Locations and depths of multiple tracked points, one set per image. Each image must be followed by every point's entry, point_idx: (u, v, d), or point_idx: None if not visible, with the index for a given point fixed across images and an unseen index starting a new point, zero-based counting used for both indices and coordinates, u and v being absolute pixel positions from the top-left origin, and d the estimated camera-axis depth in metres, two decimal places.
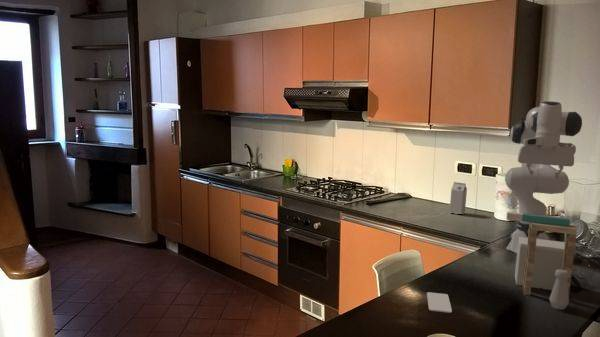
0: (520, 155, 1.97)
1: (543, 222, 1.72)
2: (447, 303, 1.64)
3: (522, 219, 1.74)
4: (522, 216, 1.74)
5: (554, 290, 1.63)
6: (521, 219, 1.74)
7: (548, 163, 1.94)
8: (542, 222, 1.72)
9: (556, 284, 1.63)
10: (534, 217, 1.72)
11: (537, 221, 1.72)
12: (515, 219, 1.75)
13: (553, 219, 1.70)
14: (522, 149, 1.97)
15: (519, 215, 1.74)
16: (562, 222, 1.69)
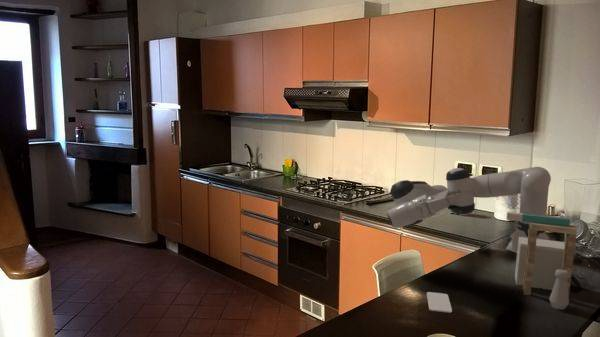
0: (436, 199, 1.80)
1: (543, 222, 1.72)
2: (447, 303, 1.64)
3: (522, 219, 1.74)
4: (522, 216, 1.74)
5: (554, 290, 1.63)
6: (521, 219, 1.74)
7: (445, 193, 1.89)
8: (542, 222, 1.72)
9: (556, 284, 1.63)
10: (534, 217, 1.72)
11: (537, 221, 1.72)
12: (515, 219, 1.75)
13: (553, 219, 1.70)
14: (430, 201, 1.82)
15: (519, 215, 1.74)
16: (562, 222, 1.69)
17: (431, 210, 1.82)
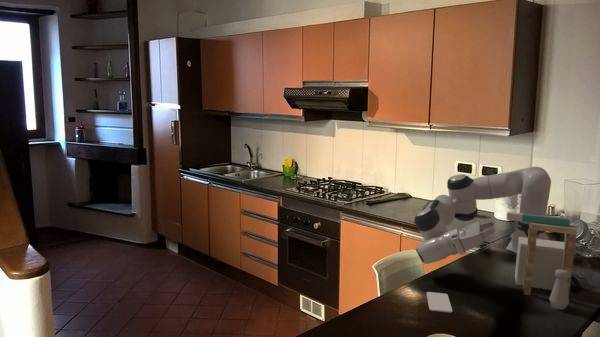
0: (471, 235, 1.72)
1: (543, 222, 1.72)
2: (447, 302, 1.64)
3: (522, 219, 1.74)
4: (522, 216, 1.74)
5: (554, 290, 1.63)
6: (521, 219, 1.74)
7: (477, 226, 1.81)
8: (542, 222, 1.72)
9: (556, 284, 1.63)
10: (534, 217, 1.72)
11: (537, 221, 1.72)
12: (515, 219, 1.75)
13: (553, 219, 1.70)
14: (464, 237, 1.73)
15: (519, 215, 1.74)
16: (562, 222, 1.69)
17: (465, 247, 1.73)
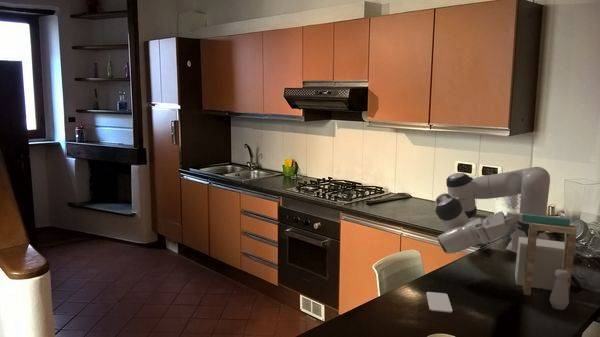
0: (495, 224, 1.69)
1: (543, 222, 1.72)
2: (447, 302, 1.65)
3: (522, 219, 1.74)
4: (522, 216, 1.74)
5: (554, 290, 1.63)
6: (521, 219, 1.74)
7: (501, 216, 1.78)
8: (542, 222, 1.72)
9: (556, 284, 1.63)
10: (534, 217, 1.72)
11: (537, 221, 1.72)
12: None
13: (553, 219, 1.70)
14: (488, 226, 1.71)
15: (519, 215, 1.74)
16: (562, 222, 1.69)
17: (490, 236, 1.71)
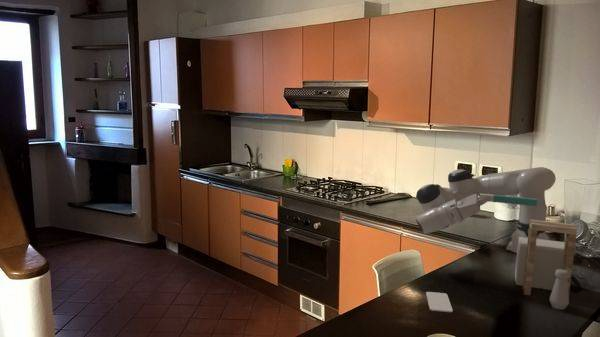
0: (468, 204, 1.81)
1: (512, 202, 1.84)
2: (447, 302, 1.65)
3: (493, 200, 1.86)
4: (493, 197, 1.86)
5: (554, 290, 1.63)
6: (492, 200, 1.86)
7: (474, 197, 1.90)
8: (512, 202, 1.84)
9: (556, 284, 1.63)
10: (504, 198, 1.85)
11: (507, 201, 1.84)
12: None
13: (522, 199, 1.83)
14: (461, 206, 1.83)
15: (490, 196, 1.86)
16: (530, 203, 1.82)
17: (463, 215, 1.83)
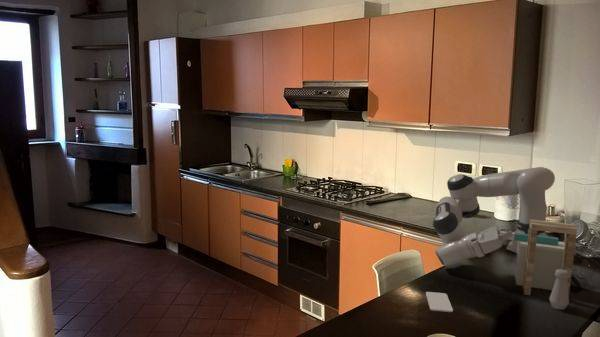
0: (489, 239, 1.81)
1: None
2: (447, 302, 1.65)
3: (514, 238, 1.85)
4: (514, 235, 1.85)
5: (554, 290, 1.63)
6: (513, 238, 1.85)
7: (495, 231, 1.90)
8: None
9: (556, 284, 1.63)
10: (525, 236, 1.84)
11: None
12: (508, 238, 1.86)
13: (543, 238, 1.82)
14: (483, 241, 1.82)
15: None
16: (551, 242, 1.81)
17: (484, 250, 1.82)
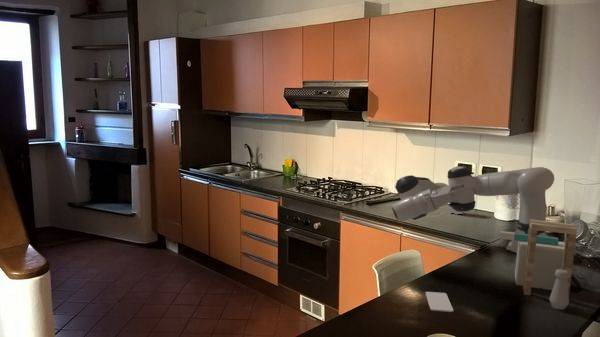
0: (441, 194, 1.85)
1: None
2: (447, 302, 1.65)
3: (514, 238, 1.85)
4: (514, 235, 1.85)
5: (554, 290, 1.63)
6: (513, 238, 1.85)
7: (449, 187, 1.94)
8: None
9: (556, 284, 1.63)
10: (525, 236, 1.84)
11: None
12: (508, 238, 1.86)
13: (543, 238, 1.82)
14: (434, 195, 1.87)
15: (511, 234, 1.86)
16: (551, 242, 1.81)
17: (435, 204, 1.87)
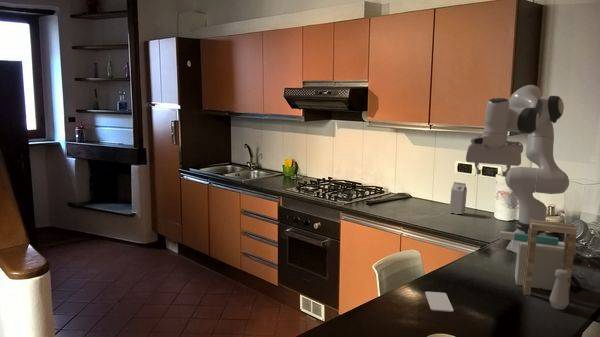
0: (467, 154, 1.92)
1: None
2: (447, 302, 1.65)
3: (514, 238, 1.85)
4: (514, 235, 1.85)
5: (554, 290, 1.63)
6: (513, 238, 1.85)
7: (495, 162, 1.89)
8: None
9: (556, 284, 1.63)
10: (525, 236, 1.84)
11: None
12: (508, 238, 1.86)
13: (543, 238, 1.82)
14: (469, 148, 1.91)
15: (511, 234, 1.86)
16: (551, 242, 1.81)
17: (469, 145, 1.94)
